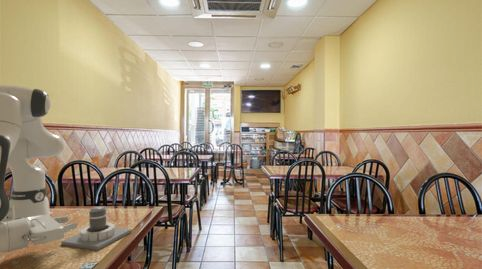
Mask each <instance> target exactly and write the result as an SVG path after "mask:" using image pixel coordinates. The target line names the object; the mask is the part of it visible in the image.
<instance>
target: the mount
mask: <svg viewBox="0 0 482 269" xmlns="http://www.w3.org/2000/svg"><path fill="white" fill-rule="evenodd" d="M131 233H132V229H131V228H125V227H124V228H122V227H116V224H114V223H112V222H106V229H105V230H103V231H99V232H90V225H87V226H85V227H83V228H82V229H81V230H79V233H77V234H76V235H73V236H70V237H69V238H66V239H64V240H62V241H61V245H62V246H67V247H74V248H80V249H88V250H93V251H99V250H101V249H103V248H105V247H106V246H109V245H110V244H112V243H114V242H116V241H118V240H120V239H121V238H123V237H124V238H125V237H126V236H127V235H129V234H131Z"/></svg>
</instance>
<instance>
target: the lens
mask: <svg viewBox="0 0 482 269" xmlns="http://www.w3.org/2000/svg"><path fill="white" fill-rule="evenodd" d="M88 212H89V215H88V218H89V219H88V220H89V226H90V232H99V231H103V230H105V229H106V223H107V209H106V206H103V205H99V206H93V207H91V208H90V211H88Z"/></svg>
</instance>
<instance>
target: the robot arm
mask: <svg viewBox="0 0 482 269" xmlns="http://www.w3.org/2000/svg"><path fill="white" fill-rule="evenodd" d="M50 109H51V99H50V97H49V93H47V92H46V91H45V90H42V89H38V88H30V87H24V86H19V85H5V84H0V254H1V253H2V254H5V253H10V252H13V251H16V250H22V249H24V248H28V247H29V246H30V243H32V244H33V245H43V244H47V243H50V242H51V243H52V242H56V241H59V240H62V239H63V238H65V234H66V233H68V232H70V231H71V230H73V229H77V228H78V223H77V222H76V221H73V222H69V217H68V215H67V216H58V217H57V216H56V217H51V215H52V214H53V213H52V211H51V210H50V201H49V197H47V195H48V194H47V192H48V191H47V190H48V189H47V187H46V172H45V170H44V169H43V168H41V167H39V166H36V165H33V164H31V163H30V162H29V159H49V158H53V157H57V156H60V155H61V154H62V152H63V151H64V147H65V143H64V140H63V139H62V137H61V136H60V135H58V134H54V133H52V132H50V131H49V130H48V129H47V128H46V127H45V126H44V125H43V121H42V117H45V116H46V115H47V114H48V112H49V111H50ZM7 167H8V168H9V169H10V171H11V174H12V181H13V182H12V184H13V190H12V191H10V192H9V193H10V194H9V195H10V200H9V196H8V195H7V193H6V191H5V180H6V174H7ZM68 222H69V223H68ZM64 223H68V224H64ZM62 224H63V225H62Z"/></svg>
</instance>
